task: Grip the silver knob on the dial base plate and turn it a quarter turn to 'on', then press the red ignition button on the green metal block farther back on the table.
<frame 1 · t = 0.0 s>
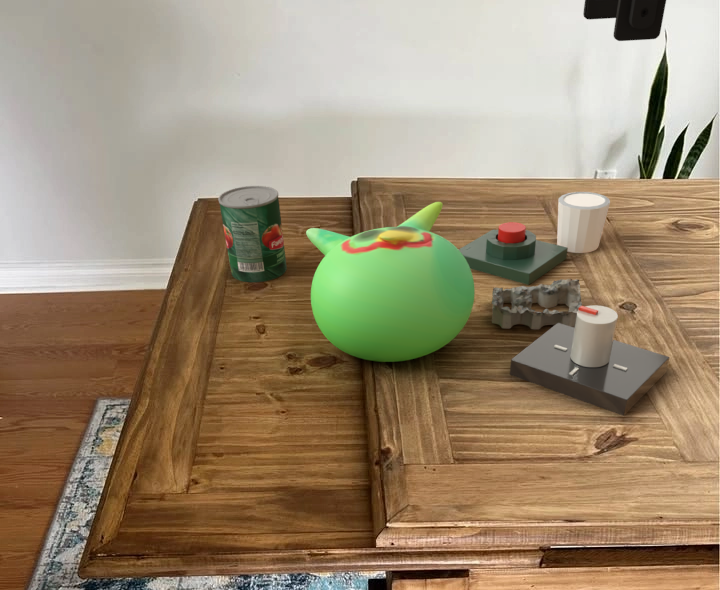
hand: (618, 27, 57), 33 cm above the table, tool pointing down, fingers open, 9 cm apart
dial base plate: (586, 378, 78), on the table
start button: (511, 233, 98), point 4 cm above the table, slide at 0.1 cm
egg carton: (534, 322, 89), on the table
white cup: (576, 250, 104), on the table
hob knob: (593, 335, 75), point 5 cm above the table, hinge at 0.0°
canned tomato: (260, 275, 103), on the table
toy bird: (392, 349, 86), on the table
button housing: (509, 265, 101), on the table
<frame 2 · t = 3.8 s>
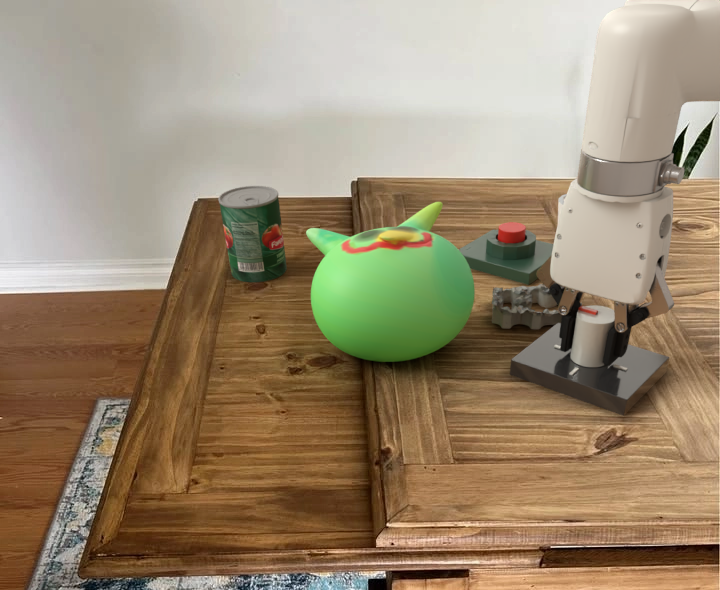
hand: (590, 351, 76), 3 cm above the table, tool pointing down, fingers closed on hob knob, 4 cm apart
hob knob: (593, 335, 75), point 5 cm above the table, hinge at -0.1°, touching gripper
everything else where it was.
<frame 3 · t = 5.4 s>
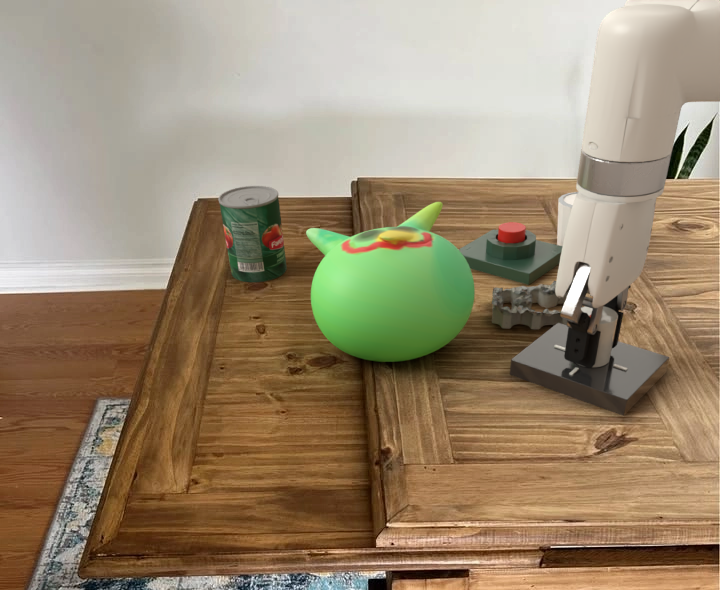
hand: (590, 351, 76), 3 cm above the table, tool pointing down, fingers closed on hob knob, 4 cm apart
hob knob: (593, 335, 75), point 5 cm above the table, hinge at 89.7°, touching gripper
everything else where it was.
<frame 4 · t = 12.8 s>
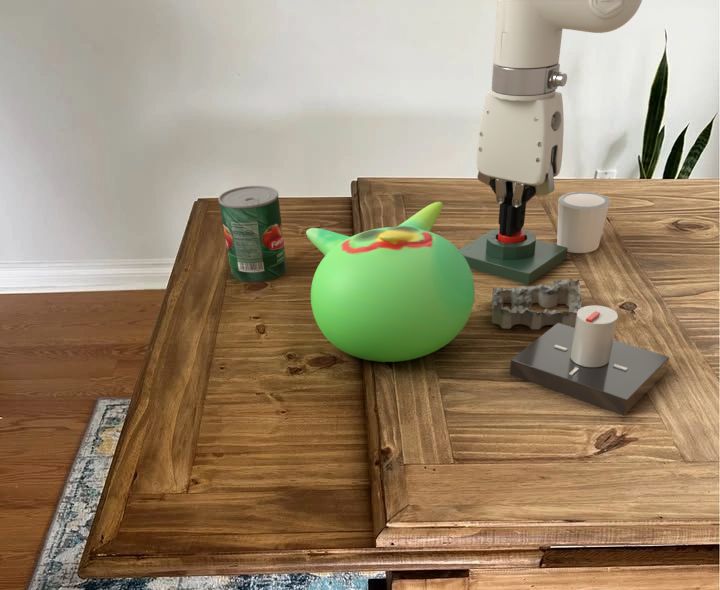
hand: (510, 232, 98), 5 cm above the table, tool pointing down, fingers closed
start button: (511, 238, 99), point 4 cm above the table, slide at -0.6 cm, touching gripper
hob knob: (593, 335, 75), point 5 cm above the table, hinge at 90.2°
everything else where it was.
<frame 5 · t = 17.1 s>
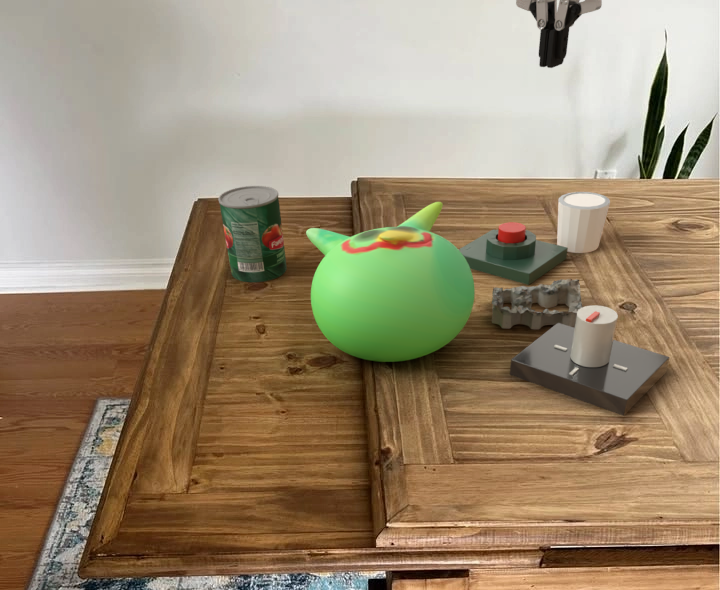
hand: (551, 64, 91), 23 cm above the table, tool pointing down, fingers closed
start button: (511, 233, 98), point 4 cm above the table, slide at 0.1 cm
everything else where it was.
at the end: hob knob at +90° (first picture: +0°); start button pushed in 1.1 cm at the most during the clip, back to where it started at the end; start button slide at 0.1 cm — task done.
